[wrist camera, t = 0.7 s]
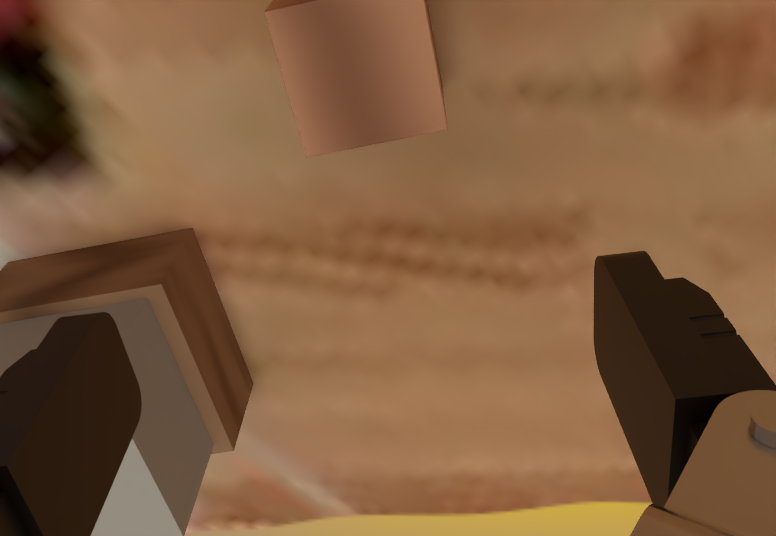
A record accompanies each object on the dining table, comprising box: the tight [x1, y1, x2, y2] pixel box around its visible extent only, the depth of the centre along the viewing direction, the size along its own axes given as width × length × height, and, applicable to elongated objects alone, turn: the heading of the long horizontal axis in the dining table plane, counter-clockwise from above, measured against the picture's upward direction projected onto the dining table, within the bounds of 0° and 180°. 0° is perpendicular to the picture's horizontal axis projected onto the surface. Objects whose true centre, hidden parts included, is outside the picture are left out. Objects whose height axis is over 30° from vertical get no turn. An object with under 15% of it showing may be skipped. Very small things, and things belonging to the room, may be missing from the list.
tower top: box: [0, 298, 213, 536], centre depth 30 cm, size 8×8×5 cm
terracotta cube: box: [264, 0, 448, 157], centre depth 26 cm, size 5×5×5 cm
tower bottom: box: [0, 228, 253, 454], centre depth 34 cm, size 9×9×5 cm
